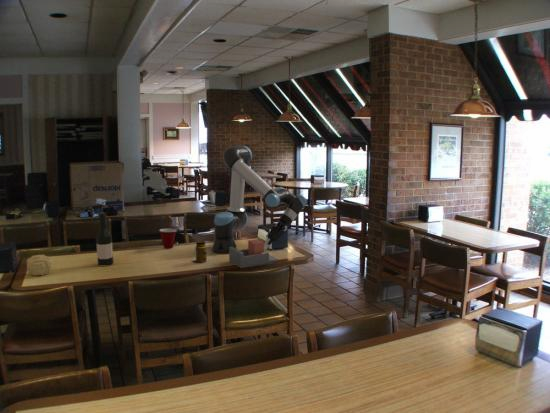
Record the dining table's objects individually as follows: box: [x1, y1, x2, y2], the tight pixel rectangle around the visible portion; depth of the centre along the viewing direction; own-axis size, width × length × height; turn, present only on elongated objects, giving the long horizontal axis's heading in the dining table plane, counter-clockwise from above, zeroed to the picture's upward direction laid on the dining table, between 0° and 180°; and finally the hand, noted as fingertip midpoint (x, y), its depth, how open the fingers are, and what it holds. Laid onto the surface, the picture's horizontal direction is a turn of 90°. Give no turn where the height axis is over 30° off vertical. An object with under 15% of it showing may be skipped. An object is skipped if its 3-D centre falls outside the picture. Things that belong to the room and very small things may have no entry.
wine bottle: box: [95, 211, 114, 266], centre depth 272 cm, size 8×8×30 cm
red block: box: [247, 238, 265, 256], centre depth 279 cm, size 8×7×10 cm
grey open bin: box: [228, 247, 279, 269], centre depth 279 cm, size 15×24×8 cm, turn 121°
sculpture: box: [26, 254, 52, 276], centre depth 257 cm, size 11×12×11 cm
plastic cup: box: [159, 228, 177, 250], centre depth 307 cm, size 11×11×12 cm
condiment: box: [190, 240, 210, 265], centre depth 278 cm, size 7×8×12 cm
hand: (263, 248), depth 281 cm, fingers closed
